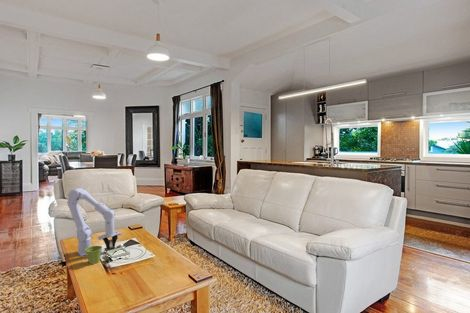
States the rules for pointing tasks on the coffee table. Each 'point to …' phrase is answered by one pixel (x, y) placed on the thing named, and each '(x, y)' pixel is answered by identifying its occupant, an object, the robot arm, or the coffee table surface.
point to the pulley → (121, 246)
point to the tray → (118, 254)
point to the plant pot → (94, 254)
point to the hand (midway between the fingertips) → (110, 247)
